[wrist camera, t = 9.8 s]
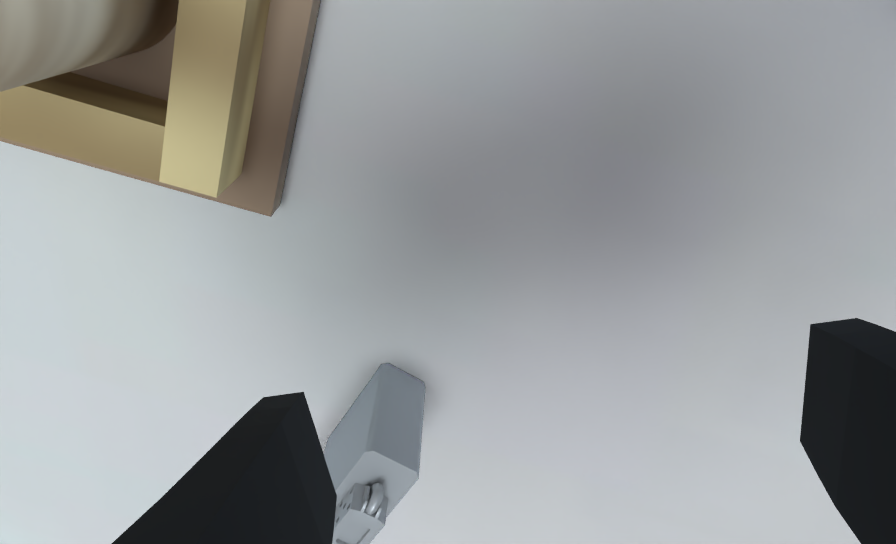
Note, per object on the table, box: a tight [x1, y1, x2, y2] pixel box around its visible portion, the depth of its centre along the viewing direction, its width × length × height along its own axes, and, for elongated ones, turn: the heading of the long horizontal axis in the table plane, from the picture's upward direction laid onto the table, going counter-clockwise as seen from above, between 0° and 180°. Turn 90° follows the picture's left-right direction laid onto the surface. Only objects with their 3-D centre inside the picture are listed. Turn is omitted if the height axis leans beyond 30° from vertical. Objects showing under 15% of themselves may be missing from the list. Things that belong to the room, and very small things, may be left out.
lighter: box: [324, 363, 425, 544], centre depth 19 cm, size 7×2×8 cm, turn 147°
